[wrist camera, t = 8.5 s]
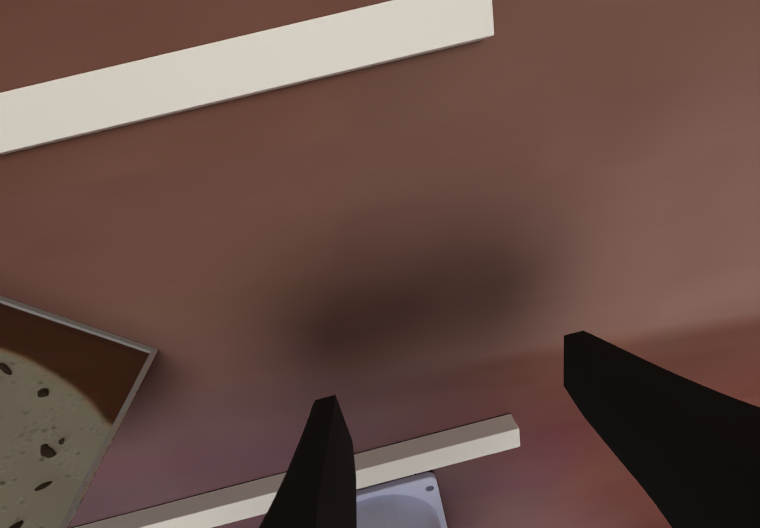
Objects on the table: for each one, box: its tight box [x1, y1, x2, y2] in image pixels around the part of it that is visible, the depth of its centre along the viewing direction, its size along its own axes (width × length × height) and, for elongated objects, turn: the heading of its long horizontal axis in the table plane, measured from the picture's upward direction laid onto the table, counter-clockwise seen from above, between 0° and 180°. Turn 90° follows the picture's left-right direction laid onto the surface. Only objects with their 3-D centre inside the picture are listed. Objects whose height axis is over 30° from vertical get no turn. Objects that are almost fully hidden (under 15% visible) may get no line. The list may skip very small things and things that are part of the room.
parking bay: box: [0, 0, 520, 528], centre depth 15 cm, size 22×32×1 cm
